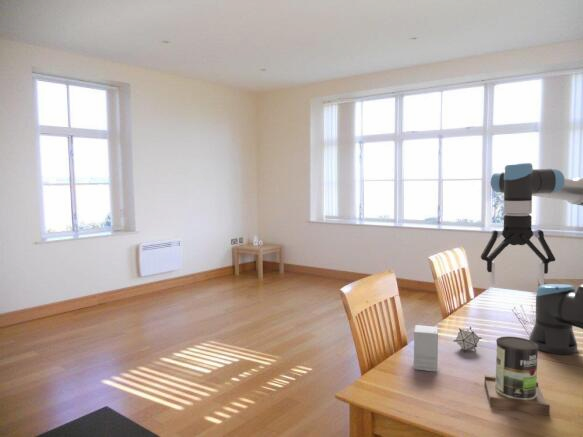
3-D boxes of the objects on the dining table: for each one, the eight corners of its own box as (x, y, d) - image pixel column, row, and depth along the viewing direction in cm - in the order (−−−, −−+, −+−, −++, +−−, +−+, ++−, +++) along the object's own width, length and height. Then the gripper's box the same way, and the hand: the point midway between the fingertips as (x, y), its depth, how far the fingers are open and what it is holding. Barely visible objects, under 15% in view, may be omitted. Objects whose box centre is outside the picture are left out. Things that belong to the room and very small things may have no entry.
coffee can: (545, 396, 118) (547, 346, 117) (518, 404, 114) (520, 352, 113) (512, 380, 128) (514, 334, 127) (486, 387, 124) (488, 339, 123)
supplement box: (437, 363, 145) (438, 326, 144) (437, 372, 138) (438, 333, 137) (414, 360, 148) (415, 324, 146) (413, 369, 141) (413, 331, 140)
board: (537, 391, 126) (537, 381, 125) (549, 415, 112) (549, 405, 112) (484, 384, 130) (484, 375, 130) (490, 407, 117) (490, 397, 116)
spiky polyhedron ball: (472, 361, 155) (485, 346, 149) (449, 352, 157) (461, 336, 150) (473, 342, 162) (485, 326, 156) (450, 333, 163) (462, 317, 157)
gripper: (560, 213, 132) (558, 281, 134) (471, 213, 139) (471, 279, 141) (568, 215, 125) (566, 287, 127) (474, 215, 132) (474, 284, 134)
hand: (516, 283), depth 134 cm, fingers open, 13 cm apart
